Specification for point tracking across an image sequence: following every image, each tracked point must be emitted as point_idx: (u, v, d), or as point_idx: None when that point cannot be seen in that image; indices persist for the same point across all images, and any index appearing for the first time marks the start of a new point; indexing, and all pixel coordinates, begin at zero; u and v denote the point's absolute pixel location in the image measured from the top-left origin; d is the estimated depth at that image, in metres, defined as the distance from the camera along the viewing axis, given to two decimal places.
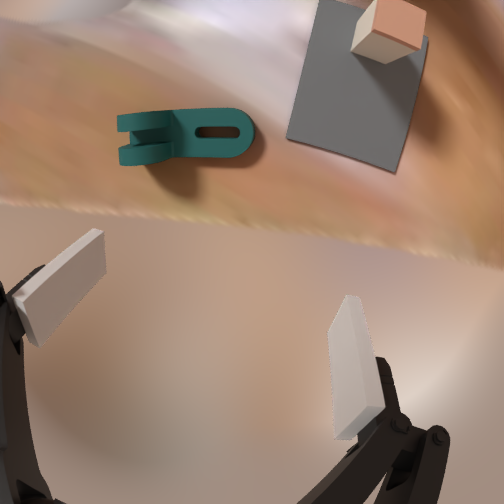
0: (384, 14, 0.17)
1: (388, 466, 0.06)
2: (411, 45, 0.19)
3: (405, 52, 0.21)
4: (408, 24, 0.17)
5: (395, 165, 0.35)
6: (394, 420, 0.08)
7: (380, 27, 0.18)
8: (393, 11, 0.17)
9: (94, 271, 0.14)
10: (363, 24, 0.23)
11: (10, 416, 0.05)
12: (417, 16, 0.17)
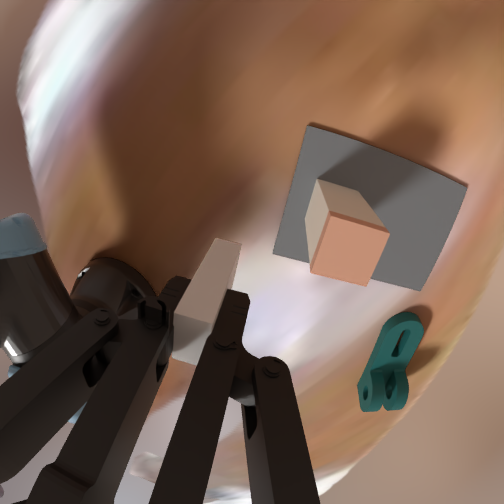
0: (346, 273, 0.22)
1: (231, 385, 0.08)
2: None
3: None
4: (357, 246, 0.21)
5: (461, 186, 0.28)
6: (215, 340, 0.10)
7: (364, 279, 0.22)
8: (340, 262, 0.22)
9: None
10: None
11: (115, 451, 0.06)
12: (342, 231, 0.21)
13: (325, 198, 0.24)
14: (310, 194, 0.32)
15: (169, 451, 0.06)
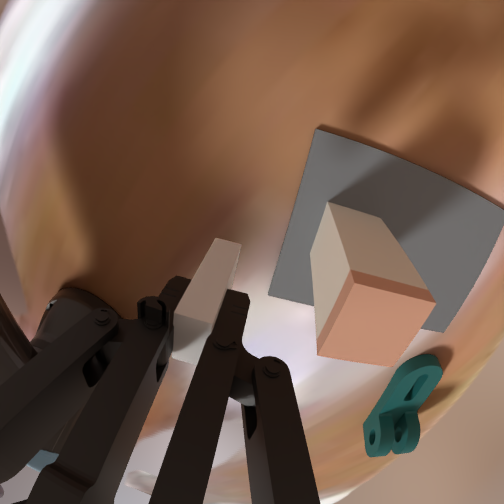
0: (367, 354, 0.15)
1: (231, 385, 0.08)
2: None
3: None
4: (388, 321, 0.13)
5: (502, 211, 0.20)
6: (215, 340, 0.10)
7: (391, 360, 0.15)
8: (361, 342, 0.14)
9: None
10: None
11: (115, 450, 0.06)
12: (369, 303, 0.13)
13: (342, 241, 0.16)
14: (318, 222, 0.24)
15: (169, 451, 0.06)
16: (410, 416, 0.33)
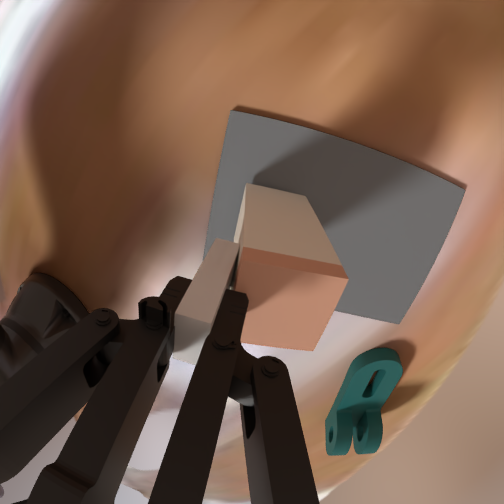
0: (279, 338, 0.15)
1: (230, 385, 0.08)
2: None
3: None
4: (293, 301, 0.13)
5: (457, 188, 0.21)
6: (214, 340, 0.10)
7: (309, 343, 0.15)
8: (268, 325, 0.14)
9: None
10: None
11: (116, 451, 0.06)
12: (265, 282, 0.13)
13: (246, 219, 0.16)
14: (239, 202, 0.24)
15: (168, 451, 0.06)
16: (372, 414, 0.33)
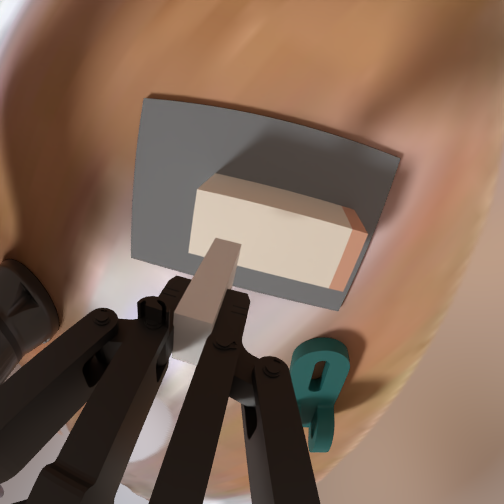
0: None
1: (231, 385, 0.08)
2: None
3: None
4: None
5: (389, 157, 0.21)
6: (215, 340, 0.10)
7: None
8: None
9: None
10: None
11: (115, 451, 0.06)
12: None
13: (307, 215, 0.19)
14: (156, 183, 0.24)
15: (169, 451, 0.06)
16: (324, 410, 0.33)
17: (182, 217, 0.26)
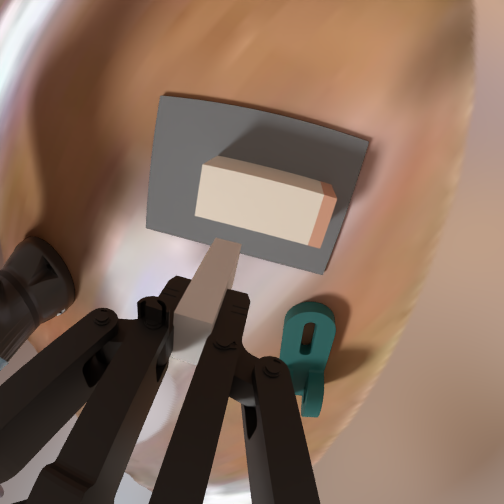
0: None
1: (231, 385, 0.08)
2: None
3: None
4: None
5: (359, 140, 0.26)
6: (215, 340, 0.10)
7: None
8: None
9: None
10: None
11: (115, 451, 0.06)
12: None
13: (287, 184, 0.24)
14: (169, 164, 0.30)
15: (169, 451, 0.06)
16: (314, 375, 0.38)
17: (190, 192, 0.31)
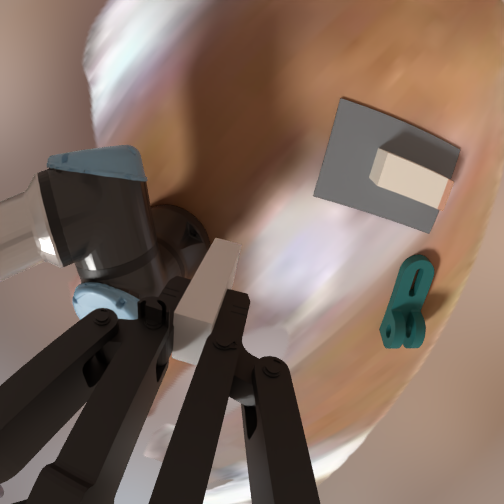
0: None
1: (231, 385, 0.08)
2: None
3: None
4: None
5: (455, 148, 0.36)
6: (215, 340, 0.10)
7: None
8: None
9: None
10: None
11: (115, 451, 0.06)
12: None
13: (431, 171, 0.34)
14: (343, 149, 0.40)
15: (169, 451, 0.06)
16: (415, 313, 0.48)
17: (355, 171, 0.41)
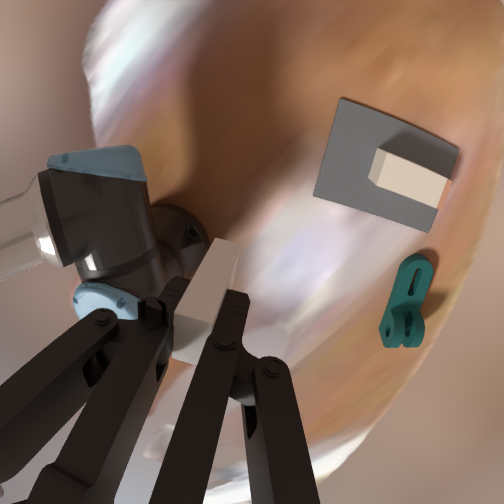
0: None
1: (231, 385, 0.08)
2: None
3: None
4: None
5: (454, 148, 0.36)
6: (215, 340, 0.10)
7: None
8: None
9: None
10: None
11: (115, 451, 0.06)
12: None
13: (430, 170, 0.34)
14: (342, 149, 0.40)
15: (169, 451, 0.06)
16: (415, 313, 0.49)
17: (355, 171, 0.41)
